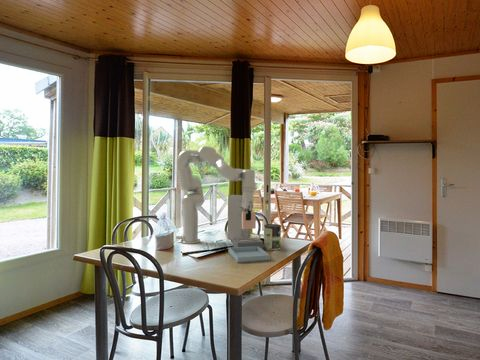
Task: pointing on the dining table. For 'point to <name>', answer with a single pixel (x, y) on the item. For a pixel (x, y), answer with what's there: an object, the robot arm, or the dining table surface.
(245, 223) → the pink rectangular block
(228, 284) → the dining table surface
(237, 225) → the tall white slab
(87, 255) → the dining table surface
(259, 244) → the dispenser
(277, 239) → the coffee can
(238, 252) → the tray
